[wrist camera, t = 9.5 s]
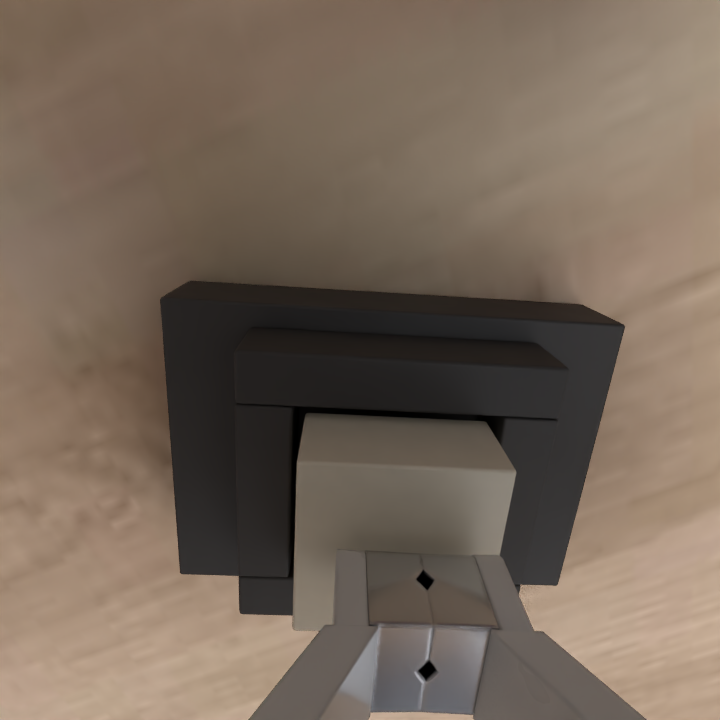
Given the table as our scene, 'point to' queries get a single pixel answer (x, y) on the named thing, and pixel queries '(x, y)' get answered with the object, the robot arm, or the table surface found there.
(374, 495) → the key
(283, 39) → the table surface
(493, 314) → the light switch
